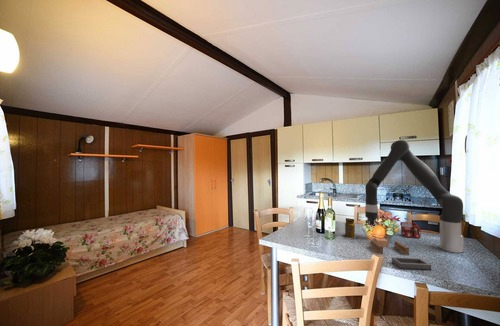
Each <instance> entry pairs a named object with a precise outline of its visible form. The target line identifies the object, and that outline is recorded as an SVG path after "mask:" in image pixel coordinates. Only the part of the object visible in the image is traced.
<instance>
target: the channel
mask: <svg viewBox="0 0 500 326" xmlns="http://www.w3.org/2000/svg"><path fill="white" fill-rule="evenodd" d="M369 241H370V245H369V246H370V248H371V249H372V250H374V252H376V253H378V254H379V255H384V247H382V246H381V245H379V244H378V243H377V242H375V241H373V239H372V240H369ZM393 244H394V245H393V246H394V247H393V248H394V249H396V250H397V251H398V252H400V253H402V254H403V255H405V256H409V255H410V247H408V246H406V245H405V244H403V243H401V242H399V241H397V240H396V241H395V240H394V242H393Z"/></svg>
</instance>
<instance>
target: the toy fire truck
mask: <svg viewBox="0 0 500 326" xmlns="http://www.w3.org/2000/svg"><path fill="white" fill-rule="evenodd" d="M399 223H400V233H401V235H403V236H405V237H406V238H407V239H411V238H412V237H413V238H414V239H416V240H417V239H421V235H422V230H421V228H420V227H419V226H420V225H417V223H416V222H415V221H413V222H411V221H410V222H409V221H400V222H399Z"/></svg>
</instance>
